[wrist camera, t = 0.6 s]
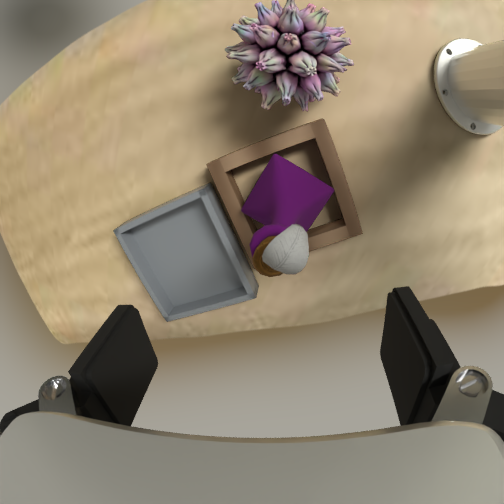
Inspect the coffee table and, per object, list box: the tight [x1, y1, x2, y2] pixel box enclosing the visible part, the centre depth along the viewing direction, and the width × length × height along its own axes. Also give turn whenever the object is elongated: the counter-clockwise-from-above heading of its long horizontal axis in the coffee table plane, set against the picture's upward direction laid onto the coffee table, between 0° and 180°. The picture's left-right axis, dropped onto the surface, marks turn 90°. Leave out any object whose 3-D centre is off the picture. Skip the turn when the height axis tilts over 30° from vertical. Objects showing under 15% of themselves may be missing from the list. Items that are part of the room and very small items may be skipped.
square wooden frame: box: [206, 119, 363, 269], centre depth 34 cm, size 14×14×2 cm
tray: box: [113, 183, 259, 322], centre depth 39 cm, size 14×15×3 cm
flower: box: [225, 0, 354, 111], centre depth 24 cm, size 12×12×12 cm
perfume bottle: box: [241, 154, 334, 277], centre depth 27 cm, size 8×8×18 cm
